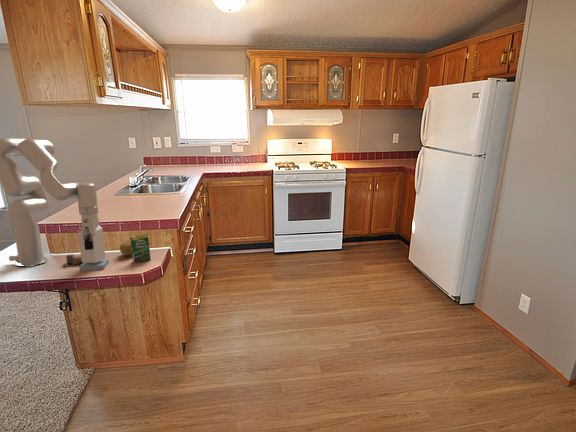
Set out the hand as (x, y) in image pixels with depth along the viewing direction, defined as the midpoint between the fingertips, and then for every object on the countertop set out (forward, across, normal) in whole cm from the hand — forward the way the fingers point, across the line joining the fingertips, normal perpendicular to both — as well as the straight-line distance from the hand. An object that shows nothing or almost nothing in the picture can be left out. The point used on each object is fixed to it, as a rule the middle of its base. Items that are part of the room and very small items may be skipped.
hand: (92, 246), depth 158 cm
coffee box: (+10, +4, -20) cm, 23 cm away
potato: (+10, +16, -13) cm, 23 cm away
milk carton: (+7, 0, 0) cm, 7 cm away
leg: (+10, +7, +6) cm, 13 cm away
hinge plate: (+10, +6, +12) cm, 17 cm away
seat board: (+10, 0, 0) cm, 10 cm away
